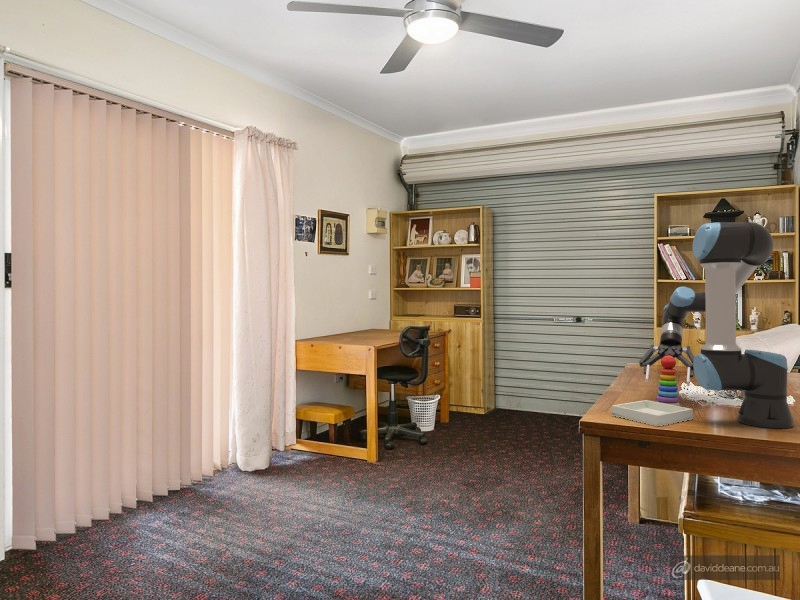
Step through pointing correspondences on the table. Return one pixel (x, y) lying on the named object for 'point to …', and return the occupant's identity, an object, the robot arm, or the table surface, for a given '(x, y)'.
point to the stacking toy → (668, 383)
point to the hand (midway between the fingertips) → (667, 382)
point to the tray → (652, 412)
